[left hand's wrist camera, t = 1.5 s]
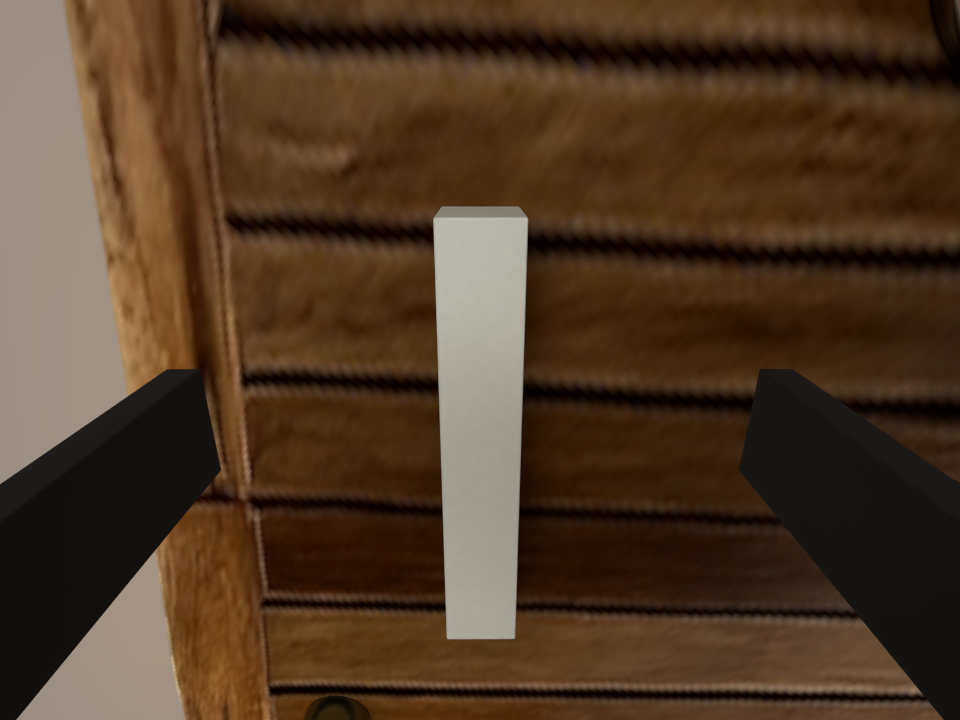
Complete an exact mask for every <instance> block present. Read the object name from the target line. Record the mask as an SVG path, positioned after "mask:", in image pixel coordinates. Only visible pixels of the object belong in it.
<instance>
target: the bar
mask: <svg viewBox="0 0 960 720" xmlns="http://www.w3.org/2000/svg"><path fill="white" fill-rule="evenodd" d="M433 223H434V254H435V285H436V316H437V347H438V378H439V409H440V440H441V471H442V502H443V533H444V564H445V595H446V626H447V639H515V624H516V592H517V560H518V529H519V497H520V465H521V433H522V401H523V369H524V338H525V306H526V274H527V242H528V217H527V216H526V215H525V214H524V212H523V211H522V210H521V208H520V207H441V208H440V210H439V211H438V213H437V214H436V216H435V217H434V219H433Z"/></svg>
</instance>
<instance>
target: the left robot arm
mask: <svg viewBox="0 0 960 720" xmlns="http://www.w3.org/2000/svg"><path fill="white" fill-rule="evenodd" d="M933 5H934V12H935V16H936V20H937V24H938V28H939V31H940V34H941V36H942V39H943V42H944V44H945V46H946V48H947V50H948V52H949V54H950V56H951V58H952V59H953V61H954V62H955V64H956V65H957V67H958V68H959V69H960V0H933ZM220 471H221V468H220V463H219V458H218V453H217V448H216V444H215V439H214V434H213V429H212V425H211V420H210V415H209V410H208V405H207V401H206V396H205V391H204V386H203V381H202V377H201V372H200V369H167V370H166V371H164V372H163V373H161V374H160V375H158V376H157V377H155V378H154V379H152V380H151V381H150V382H148V383H147V384H145V385H144V386H142V387H141V388H139V389H138V390H137V391H135V392H134V393H132V394H131V395H129V396H128V397H126V398H125V399H123V400H122V401H121V402H119V403H118V404H116V405H115V406H113V407H112V408H110V409H109V410H107V411H106V412H105V413H103V414H102V415H100V416H99V417H97V418H96V419H94V420H93V421H91V422H90V423H89V424H87V425H86V426H84V427H83V428H81V429H80V430H78V431H77V432H75V433H74V434H73V435H71V436H70V437H68V438H67V439H65V440H64V441H62V442H61V443H60V444H58V445H57V446H55V447H54V448H52V449H51V450H49V451H48V452H46V453H45V454H44V455H42V456H41V457H39V458H38V459H36V460H35V461H33V462H32V463H31V464H29V465H28V466H26V467H25V468H23V469H22V470H20V471H19V472H17V473H16V474H14V475H13V476H12V477H10V478H9V479H7V480H6V481H4V482H3V483H1V484H0V720H16V719H17V718H18V717H19V716H20V714H21V713H22V712H23V711H24V710H25V708H26V707H27V706H28V705H29V704H30V702H31V701H32V700H33V699H34V697H35V696H36V695H37V694H38V693H39V691H40V690H41V689H42V688H43V686H44V685H45V684H46V683H47V682H48V680H49V679H50V678H51V677H52V675H53V674H54V673H55V672H56V671H57V669H58V668H59V667H60V666H61V664H62V663H63V662H64V661H65V660H66V658H67V657H68V656H69V655H70V654H71V652H72V651H73V650H74V649H75V647H76V646H77V645H78V644H79V643H80V641H81V640H82V639H83V638H84V636H85V635H86V634H87V633H88V632H89V630H90V629H91V628H92V627H93V625H94V624H95V623H96V622H97V621H98V619H99V618H100V617H101V616H102V614H103V613H104V612H105V611H106V610H107V608H108V607H109V606H110V605H111V604H112V602H113V601H114V600H115V599H116V597H117V596H118V595H119V594H120V593H121V591H122V590H123V589H124V588H125V586H126V585H127V584H128V583H129V582H130V580H131V579H132V578H133V577H134V575H135V574H136V573H137V572H138V571H139V569H140V568H141V567H142V566H143V564H144V563H145V562H146V561H147V560H148V558H149V557H150V556H151V555H152V554H153V552H154V551H155V550H156V549H157V547H158V546H159V545H160V544H161V543H162V541H163V540H164V539H165V538H166V536H167V535H168V534H169V533H170V532H171V530H172V529H173V528H174V527H175V525H176V524H177V523H178V522H179V521H180V519H181V518H182V517H183V516H184V514H185V513H186V512H187V511H188V510H189V508H190V507H191V506H192V505H193V504H194V502H195V501H196V500H197V499H198V497H199V496H200V495H201V494H202V493H203V491H204V490H205V489H206V488H207V486H208V485H209V484H210V483H211V482H212V480H213V479H214V478H215V477H216V475H217V474H218V473H219V472H220ZM739 471H740V472H741V473H742V474H743V475H744V477H745V478H746V479H747V480H748V482H749V483H750V484H751V485H752V486H753V488H754V489H755V490H756V491H757V493H758V494H759V495H760V496H761V497H762V499H763V500H764V501H765V502H766V504H767V505H768V506H769V507H770V508H771V510H772V511H773V512H774V513H775V514H776V516H777V517H778V518H779V519H780V521H781V522H782V523H783V524H784V525H785V527H786V528H787V529H788V530H789V532H790V533H791V534H792V535H793V536H794V538H795V539H796V540H797V541H798V543H799V544H800V545H801V546H802V547H803V549H804V550H805V551H806V552H807V554H808V555H809V556H810V557H811V558H812V560H813V561H814V562H815V563H816V564H817V566H818V567H819V568H820V569H821V571H822V572H823V573H824V574H825V575H826V577H827V578H828V579H829V580H830V582H831V583H832V584H833V585H834V586H835V588H836V589H837V590H838V591H839V593H840V594H841V595H842V596H843V597H844V599H845V600H846V601H847V602H848V604H849V605H850V606H851V607H852V608H853V610H854V611H855V612H856V613H857V614H858V616H859V617H860V618H861V619H862V621H863V622H864V623H865V624H866V625H867V627H868V628H869V629H870V630H871V632H872V633H873V634H874V635H875V636H876V638H877V639H878V640H879V641H880V643H881V644H882V645H883V646H884V647H885V649H886V650H887V651H888V652H889V654H890V655H891V656H892V657H893V658H894V660H895V661H896V662H897V663H898V664H899V666H900V667H901V668H902V669H903V671H904V672H905V673H906V674H907V675H908V677H909V678H910V679H911V680H912V682H913V683H914V684H915V685H916V686H917V688H918V689H919V690H920V691H921V693H922V694H923V695H924V696H925V697H926V699H927V700H928V701H929V702H930V704H931V705H932V706H933V707H934V708H935V710H936V711H937V712H938V713H939V714H940V716H941V717H942V718H943V719H944V720H960V482H958V481H956V480H953V479H951V478H950V477H948V476H947V475H946V474H944V473H943V472H941V471H940V470H938V469H937V468H935V467H934V466H932V465H931V464H930V463H928V462H927V461H925V460H924V459H922V458H921V457H919V456H918V455H916V454H915V453H914V452H912V451H911V450H909V449H908V448H906V447H905V446H903V445H902V444H901V443H899V442H898V441H896V440H895V439H893V438H892V437H890V436H889V435H887V434H886V433H885V432H883V431H882V430H880V429H879V428H877V427H876V426H874V425H873V424H871V423H870V422H869V421H867V420H866V419H864V418H863V417H861V416H860V415H858V414H857V413H855V412H854V411H853V410H851V409H850V408H848V407H847V406H845V405H844V404H842V403H841V402H839V401H838V400H837V399H835V398H834V397H832V396H831V395H829V394H828V393H826V392H825V391H823V390H822V389H821V388H819V387H818V386H816V385H815V384H813V383H812V382H810V381H809V380H808V379H806V378H805V377H803V376H802V375H800V374H799V373H797V372H796V371H794V370H793V369H760V372H759V377H758V381H757V386H756V391H755V396H754V401H753V405H752V410H751V415H750V420H749V425H748V429H747V434H746V439H745V444H744V448H743V453H742V458H741V463H740V468H739Z"/></svg>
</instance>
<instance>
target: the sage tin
mask: <svg viewBox="0 0 960 720" xmlns="http://www.w3.org/2000/svg"><path fill="white" fill-rule="evenodd" d="M303 720H370V716H369V713H368V712H367V710H366V709H365V708H364V707H363V706H362V705H361V704H360V703H358V702H356V701H354V700H352V699H349V698H345V697H339V696H330V697H324V698H321V699H318V700H316V701H315V702H313V703H312V704H311V705H310V706H309V707H308V708H307V710H306V713H305V716H304V719H303Z"/></svg>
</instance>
